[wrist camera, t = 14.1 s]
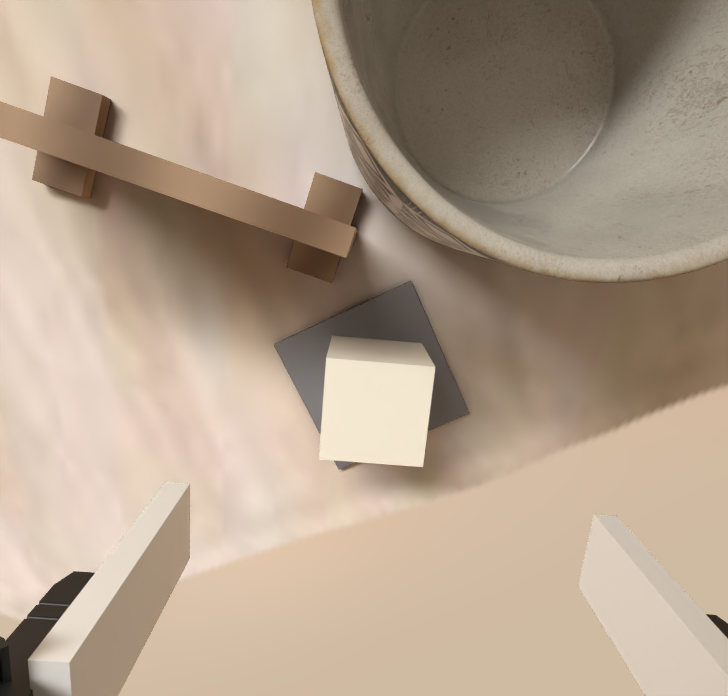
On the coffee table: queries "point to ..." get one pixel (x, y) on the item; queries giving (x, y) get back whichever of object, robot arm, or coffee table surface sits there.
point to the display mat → (372, 321)
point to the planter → (542, 127)
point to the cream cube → (376, 401)
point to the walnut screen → (176, 178)
